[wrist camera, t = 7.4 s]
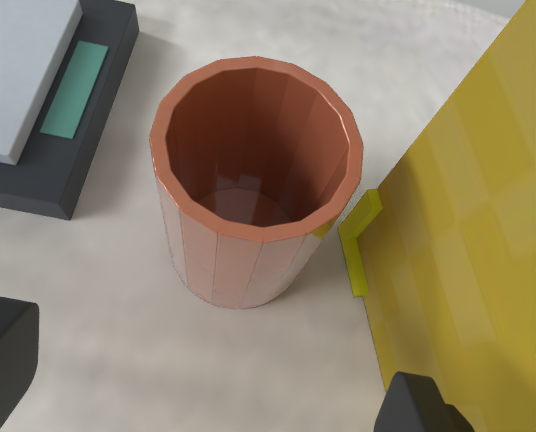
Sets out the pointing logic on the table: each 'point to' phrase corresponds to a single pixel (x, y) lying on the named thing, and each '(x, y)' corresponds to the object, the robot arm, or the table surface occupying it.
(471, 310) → the book
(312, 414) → the table surface
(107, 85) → the scale
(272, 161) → the cup
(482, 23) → the table surface
